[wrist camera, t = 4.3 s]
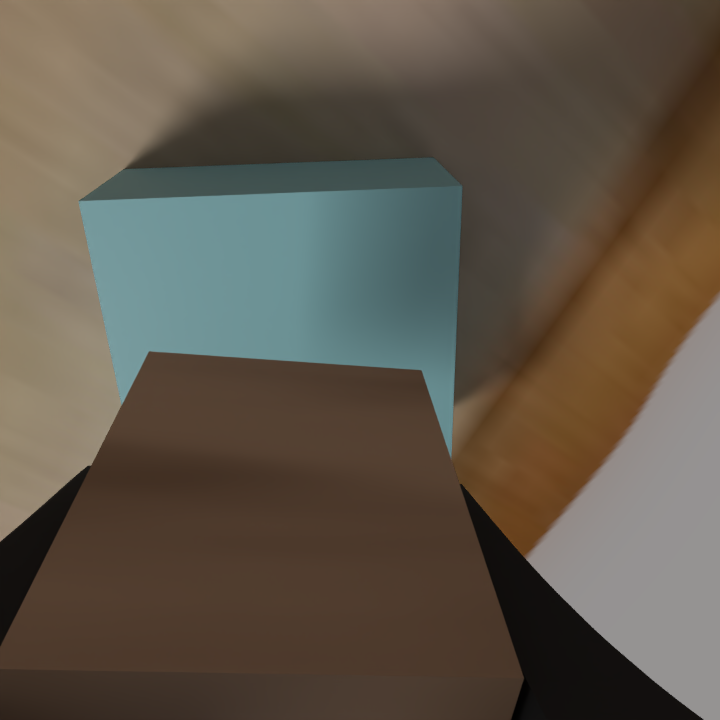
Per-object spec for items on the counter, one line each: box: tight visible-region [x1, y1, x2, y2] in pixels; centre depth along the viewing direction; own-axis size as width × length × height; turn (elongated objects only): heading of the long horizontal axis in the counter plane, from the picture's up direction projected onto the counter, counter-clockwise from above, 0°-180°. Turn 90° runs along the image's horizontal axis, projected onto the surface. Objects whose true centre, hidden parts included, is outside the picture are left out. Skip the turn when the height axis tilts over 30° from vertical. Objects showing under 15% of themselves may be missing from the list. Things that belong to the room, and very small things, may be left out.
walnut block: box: [0, 351, 524, 720], centre depth 9 cm, size 4×4×6 cm
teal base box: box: [79, 157, 462, 457], centre depth 17 cm, size 8×8×4 cm
